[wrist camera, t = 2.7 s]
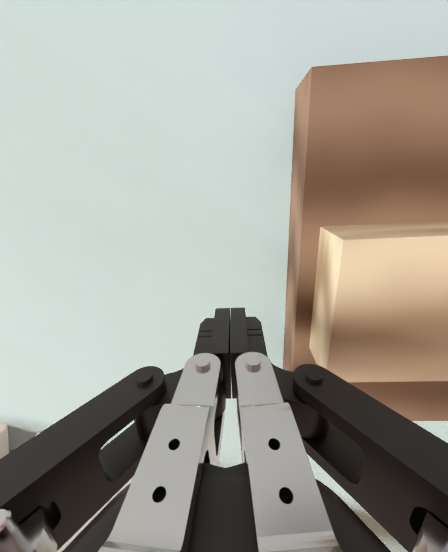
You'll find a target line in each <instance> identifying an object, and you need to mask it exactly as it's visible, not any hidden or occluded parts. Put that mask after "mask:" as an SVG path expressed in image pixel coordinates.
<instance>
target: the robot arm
mask: <svg viewBox="0 0 448 552" xmlns="http://www.w3.org/2000/svg"><path fill="white" fill-rule="evenodd" d="M231 379H232V396H233V398H237V415H238V426H239V436H240V446H241V455H242V464H239V465H236V466H232V467H229V468H222V467H219V458H220V450H221V441H222V433H223V425H224V410H225V403H226V398H231ZM133 420H134V421H135V423H133V424H132V425H131V426H130V427H128V428H127V429H126V430H125V431H123V432H122V433H121V434H120V435H119V436H117V437H116V438H115V439H114V440H112V441H111V442H110V443H109V444H107V445H106V446H105V447H104V448H103V449H101V448H102V446H103V445H104V444H105V443H106V442H107V441H108V440H109V439H110V438H112V437H113V436H114V435H115V434H117V433H118V432H119V431H120V430H122V429H123V428H124V427H125V426H127V425H128V424H129V423H130V422H132V421H133ZM307 454H308V455H309V456H310V457H311V458H312V459H313V460H314V461H315V462H316V463H317V464H318V465H319V466H320V467H321V468H323V469H324V470H325V471H326V472H327V473H328V474H329V475H330V476H331V477H332V478H333V479H334V480H335V481H336V482H337V483H338V484H339V485H340V486H341V487H342V488H343V489H344V490H345V491H346V492H347V493H348V494H349V495H350V496H351V497H352V498H353V499H355V500H356V501H357V502H358V503H359V504H360V505H361V506H362V507H363V508H364V509H365V510H366V511H367V512H368V513H369V514H370V515H371V516H372V517H373V518H374V519H375V520H376V521H377V522H378V523H379V524H380V525H381V526H382V527H383V528H384V529H385V530H387V531H388V532H389V533H390V534H391V535H392V536H393V537H394V538H395V539H396V540H397V541H398V542H399V543H400V544H401V545H402V546H403V547H404V548H405V549H406V550H407V551H408V552H448V443H446V442H445V441H443V440H441V439H440V438H438V437H436V436H435V435H433V434H432V433H430V432H428V431H427V430H425V429H423V428H422V427H420V426H418V425H417V424H415V423H414V422H412V421H410V420H409V419H407V418H405V417H404V416H402V415H400V414H399V413H397V412H396V411H394V410H392V409H391V408H389V407H387V406H386V405H384V404H383V403H381V402H379V401H378V400H376V399H374V398H373V397H371V396H369V395H368V394H366V393H365V392H363V391H361V390H360V389H358V388H356V387H355V386H353V385H351V384H350V383H348V382H347V381H345V380H343V379H342V378H340V377H338V376H337V375H335V374H334V373H332V372H330V371H329V370H327V369H325V368H323V367H321V366H319V365H315V364H303V365H300V366H298V367H297V368H296V369H295V370H294V372H292V371H287V370H284V369H281V368H278V367H276V366H275V365H273V364H272V363H271V361H270V360H269V358H268V356H267V352H266V347H265V341H264V336H263V331H262V326H261V322H260V321H259V320H258V319H257V318H256V317H246V315H245V308H231V320H230V308H218V309H216V310H215V318H206V319H205V320H204V321H203V322H202V323H201V324H200V328H199V333H198V337H197V341H196V346H195V350H194V355H193V356H192V357H191V358H190V359H188V361H187V362H186V364H185V367H184V368H183V369H182V370H179V371H177V372H173V373H170V374H166V375H164V372H163V371H162V370H161V369H160V368H158V367H154V366H148V367H143V368H140V369H138V370H136V371H135V372H133V373H132V374H130V375H128V376H127V377H125V378H124V379H122V380H121V381H119V382H118V383H116V384H115V385H113V386H112V387H110V388H108V389H107V390H105V391H104V392H102V393H101V394H99V395H98V396H96V397H95V398H93V399H92V400H90V401H88V402H87V403H85V404H84V405H82V406H81V407H79V408H78V409H76V410H75V411H73V412H72V413H70V414H69V415H67V416H65V417H64V418H62V419H61V420H59V421H58V422H56V423H55V424H53V425H52V426H50V427H49V428H47V429H45V430H44V431H42V432H41V433H39V434H38V435H36V436H35V437H33V438H32V439H30V440H29V441H27V442H25V443H24V444H22V445H21V446H19V447H18V448H16V449H15V450H13V451H12V452H10V453H9V454H7V455H6V456H4V457H2V458H1V459H0V552H57V551H58V550H59V549H60V548H61V547H62V546H63V545H64V544H65V543H66V542H67V541H68V540H69V539H70V538H71V537H72V536H73V535H74V534H75V533H76V532H77V531H78V530H79V529H80V528H81V527H82V526H83V525H84V524H85V523H86V522H87V521H88V520H90V519H91V518H92V517H93V516H94V515H95V514H96V513H97V512H98V511H99V510H100V509H101V508H102V507H103V506H104V505H105V504H106V503H107V502H108V501H109V500H110V499H111V498H112V497H113V496H114V495H115V494H116V493H117V492H118V491H119V490H120V489H121V488H122V487H123V486H124V485H125V484H126V483H127V482H128V481H129V480H130V479H131V478H132V477H133V476H134V477H133V480H132V482H131V483H130V484H129V485H128V486H126V487H125V488H124V489H123V490H122V491H120V492H119V493H118V494H117V495H116V496H115V497H114V498H113V499H112V500H111V501H110V502H109V503H108V504H107V505H106V506H105V507H104V508H103V509H102V510H101V511H100V513H99V514H98V515H97V516H96V517H95V518H94V519H93V520H92V521H91V522H90V523H89V524H88V525H87V526H86V527H85V528H84V529H83V530H82V531H81V532H80V533H79V534H78V535H77V536H76V537H75V538H74V539H73V541H72V542H71V543H70V544H69V545H68V546H67V547H66V548H65V549H64V550H63V551H62V552H391V551H390V550H389V549H388V548H387V547H386V546H385V545H384V544H383V543H382V542H381V540H380V539H379V538H378V537H377V536H376V535H375V534H374V533H373V532H372V531H371V530H370V529H369V528H368V527H367V526H366V525H365V524H364V522H363V521H362V520H361V519H360V518H359V517H358V516H357V515H356V514H355V513H354V512H353V511H352V510H351V509H350V508H349V507H348V505H347V504H346V503H345V502H344V501H343V500H342V499H341V498H340V497H339V496H338V495H337V494H335V493H334V492H333V491H332V490H331V489H330V488H328V487H327V486H326V485H324V484H323V483H321V482H320V481H318V480H316V479H315V477H314V474H313V471H312V468H311V465H310V462H309V459H308V456H307Z"/></svg>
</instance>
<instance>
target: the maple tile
mask: <svg viewBox="0 0 448 552" xmlns="http://www.w3.org/2000/svg"><path fill="white" fill-rule="evenodd" d="M309 348H310V350H311V353H312V355H313V357H314V359H315V362H316V364H317V365H319V366H321V367H323V368H325V369H327V370H329V371H330V372H332V373H334V374H335V375H337V376H338V377H340V378H342V379H343V380H345V381H347V382H414V381H448V221H431V222H410V223H389V224H368V225H346V226H325V227H320V236H319V247H318V258H317V268H316V279H315V290H314V301H313V311H312V322H311V333H310V344H309Z"/></svg>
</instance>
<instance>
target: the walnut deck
mask: <svg viewBox="0 0 448 552" xmlns="http://www.w3.org/2000/svg"><path fill="white" fill-rule="evenodd" d="M431 221H448V56H439V57H426V58H414V59H402V60H390V61H378V62H366V63H354V64H342V65H330V66H318V67H312V68H311V69H310V70H309V72H308V73H307V75H306V76H305V77H304V79H303V80H302V82H301V83H300V84H299V86H298V87H297V89H296V93H295V115H294V137H293V159H292V181H291V203H290V225H289V248H288V270H287V292H286V314H285V336H284V358H283V369H284V370H287V371H292V372H294V370H295V369H296V368H297V367H298V366H300V365H303V364H315V365H317V364H316V362H315V359H314V357H313V355H312V353H311V350H310V348H309V344H310V333H311V322H312V311H313V301H314V290H315V279H316V268H317V258H318V247H319V236H320V227H325V226H346V225H368V224H389V223H410V222H431ZM348 383H350V384H351V385H353V386H355V387H356V388H358V389H360V390H361V391H363V392H365V393H366V394H368V395H369V396H371V397H373V398H374V399H376V400H378V401H379V402H381V403H383V404H384V405H386V406H387V407H389V408H391V409H392V410H394V411H396V412H397V413H399V414H400V415H402V416H404V417H405V418H407V419H409V420H410V421H448V381H414V382H348Z"/></svg>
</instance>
